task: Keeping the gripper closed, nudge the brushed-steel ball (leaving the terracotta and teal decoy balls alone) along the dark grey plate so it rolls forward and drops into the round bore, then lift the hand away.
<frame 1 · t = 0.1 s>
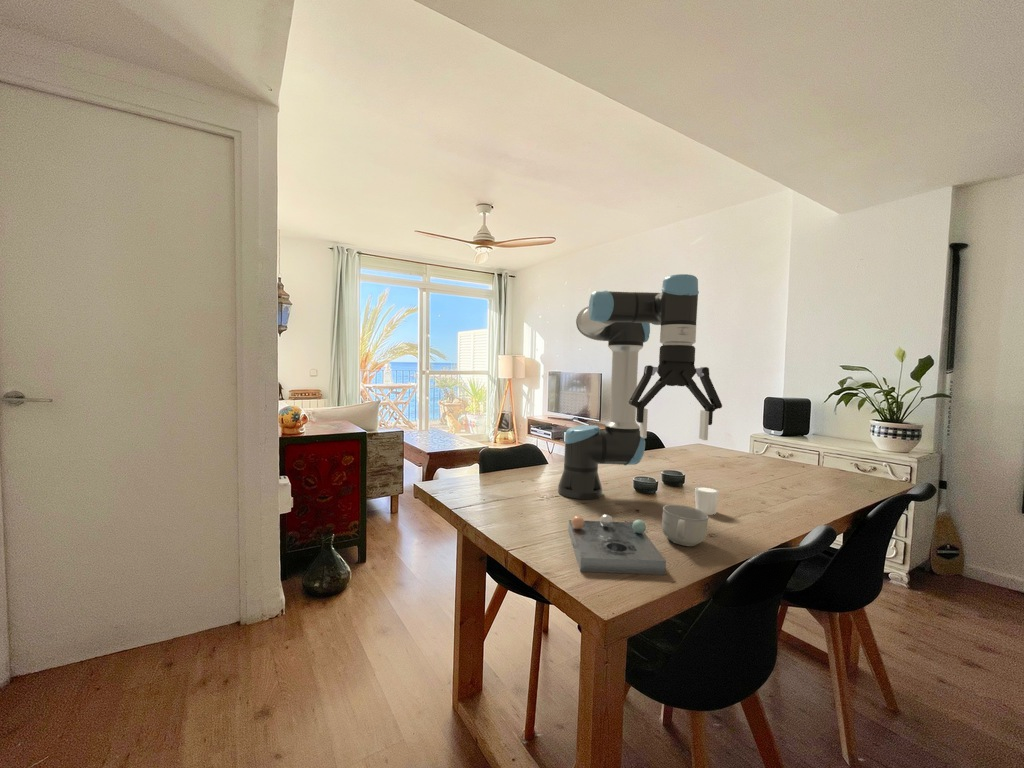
hand: (673, 438, 96), 28 cm above the table, fingers open, 13 cm apart
plate: (611, 550, 100), on the table
teacup: (681, 544, 106), on the table
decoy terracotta: (577, 522, 105), point 5 cm above the table, touching plate
steel ball: (606, 520, 107), point 5 cm above the table, touching plate
shot glass: (705, 512, 130), on the table
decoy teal: (639, 526, 104), point 5 cm above the table, touching plate
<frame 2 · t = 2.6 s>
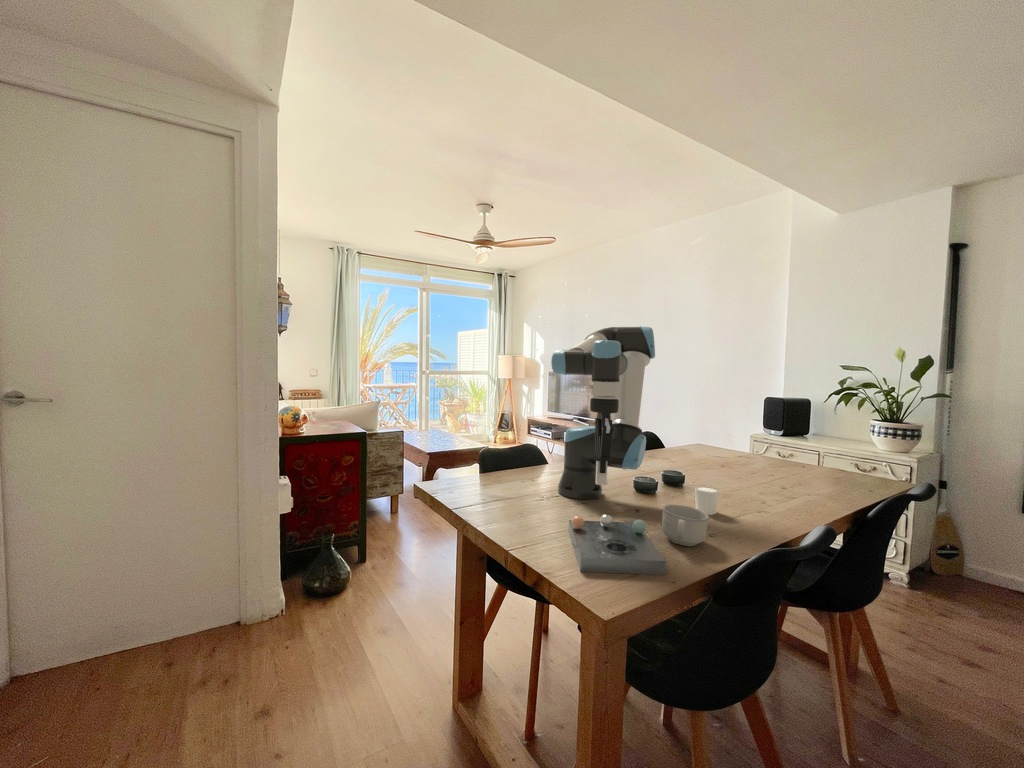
hand: (600, 484, 114), 12 cm above the table, fingers closed
nothing on the table moved.
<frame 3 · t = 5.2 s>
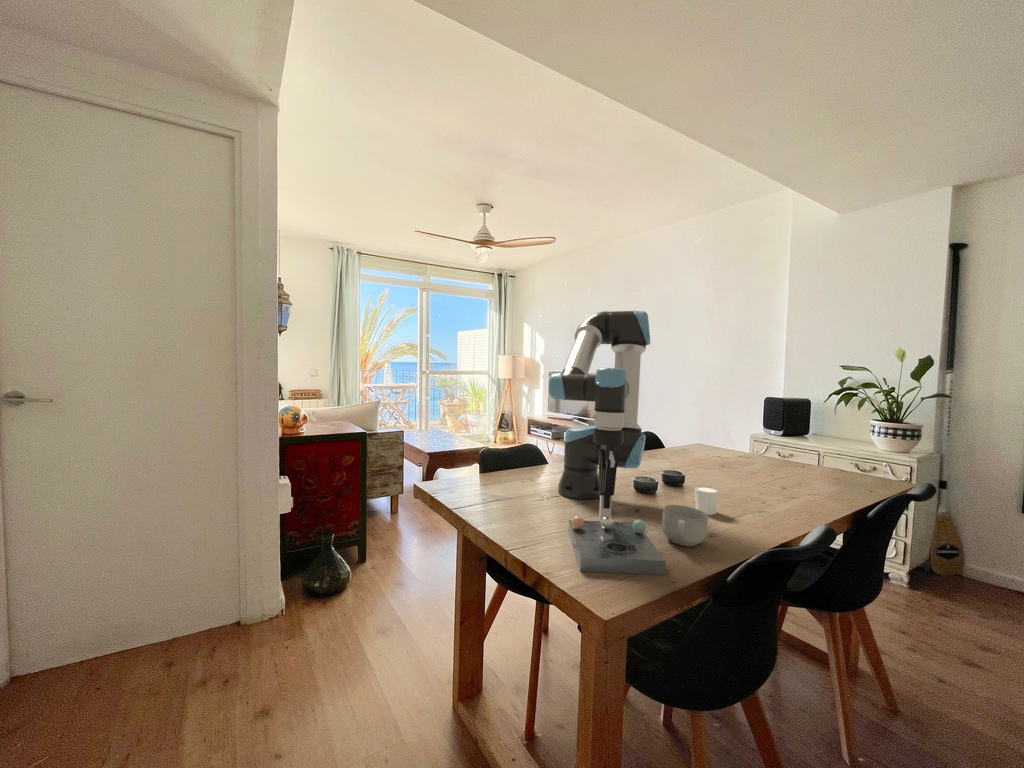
hand: (604, 519, 108), 5 cm above the table, fingers closed
steel ball: (607, 522, 105), point 5 cm above the table, tilted 46°, touching plate
everything else where it was.
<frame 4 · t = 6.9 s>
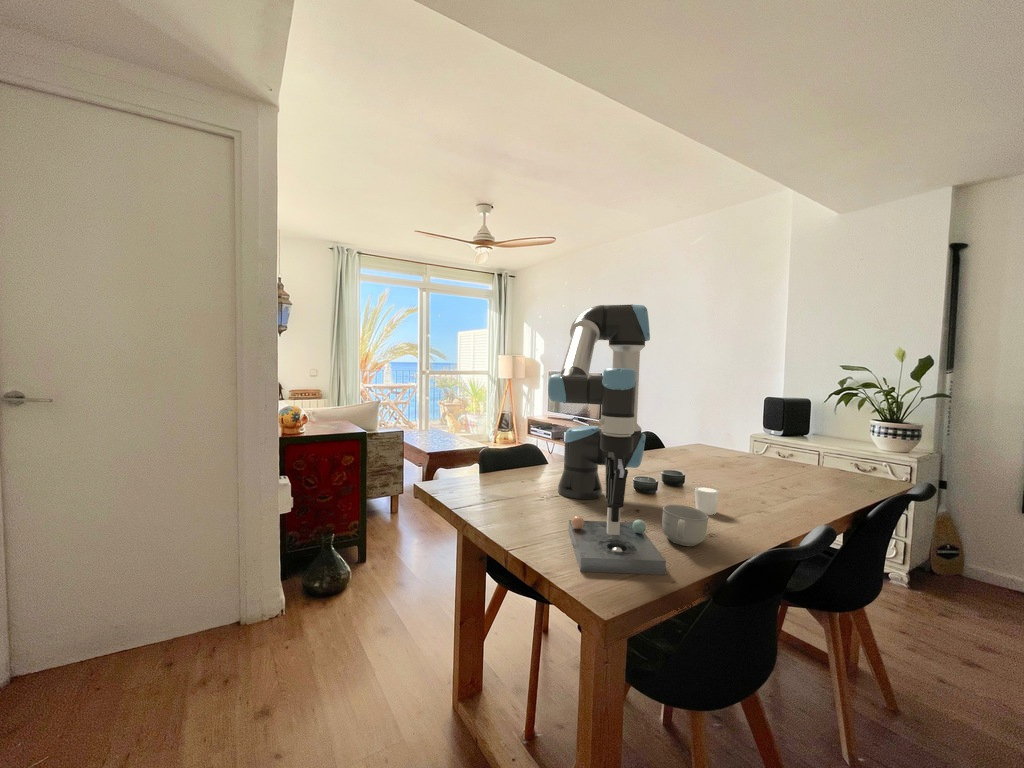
hand: (612, 533, 99), 5 cm above the table, fingers closed
steel ball: (617, 554, 94), point 2 cm above the table, tilted 155°
everything else where it was.
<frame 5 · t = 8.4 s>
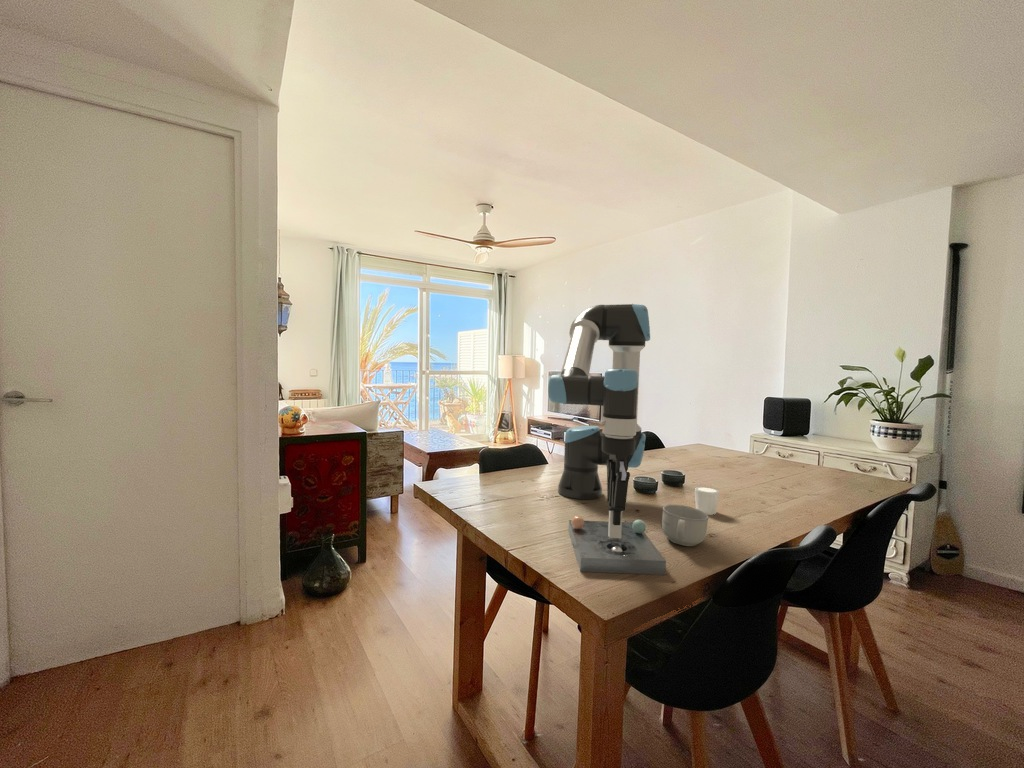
hand: (614, 536, 97), 4 cm above the table, fingers closed
steel ball: (616, 553, 95), point 2 cm above the table, tilted 142°
everything else where it was.
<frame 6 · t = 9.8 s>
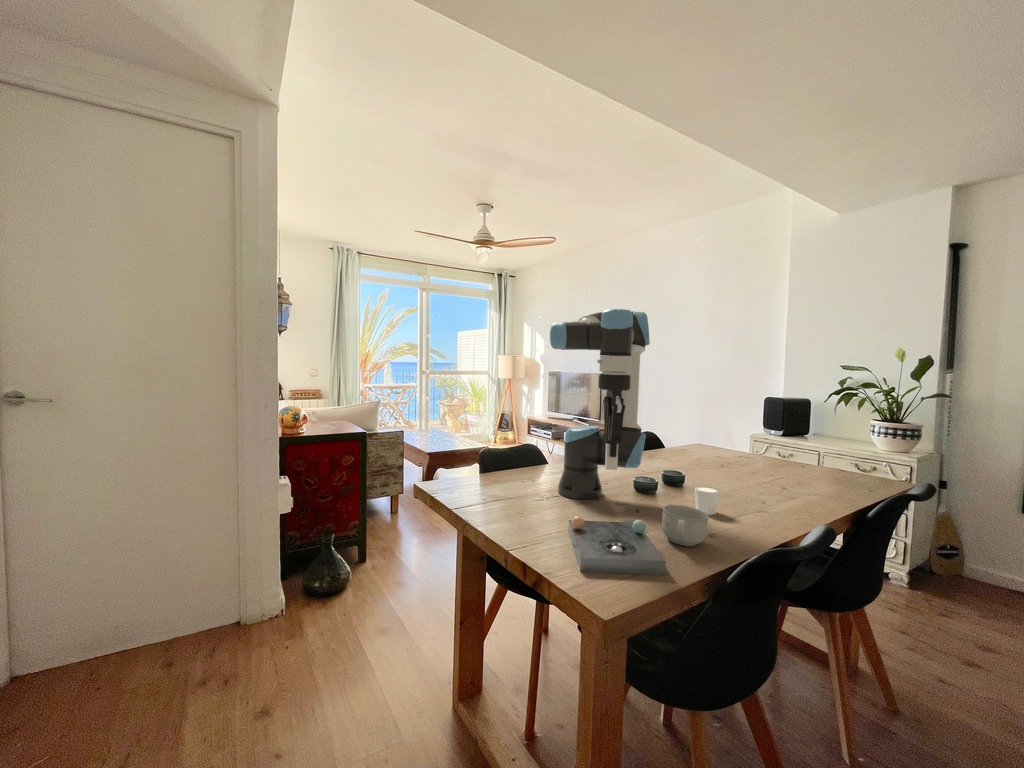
hand: (611, 468, 104), 19 cm above the table, fingers closed
steel ball: (616, 553, 95), point 2 cm above the table, tilted 130°
everything else where it was.
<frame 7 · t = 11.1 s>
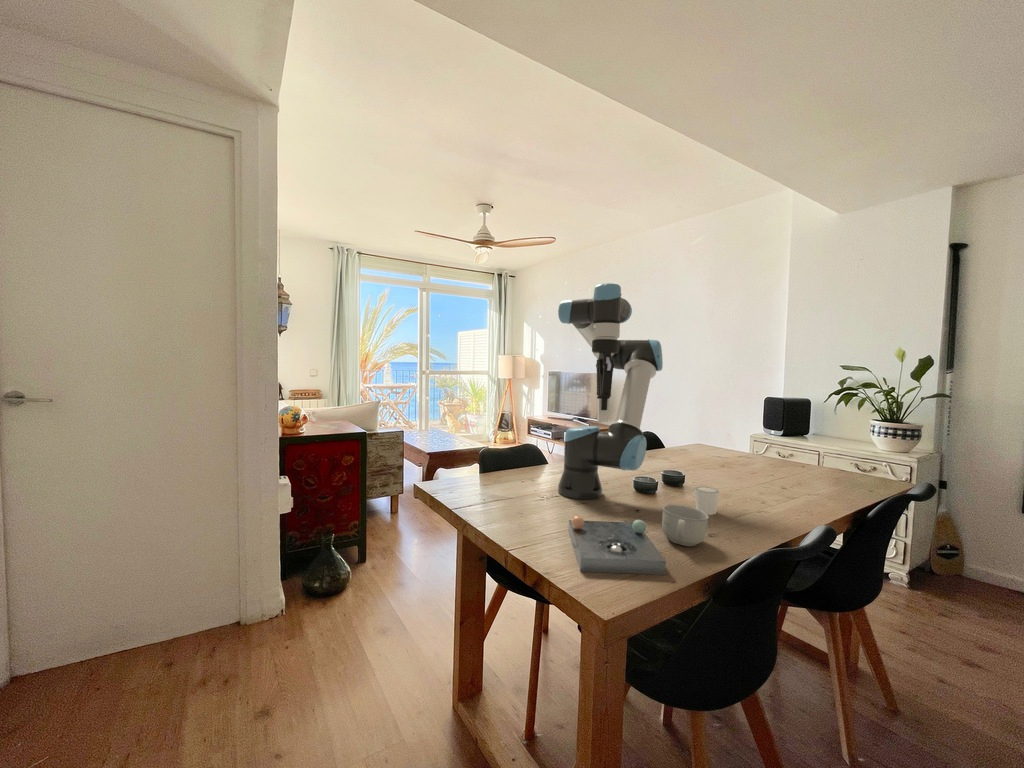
hand: (602, 421, 121), 28 cm above the table, fingers closed
steel ball: (616, 552, 95), point 2 cm above the table, tilted 119°
everything else where it was.
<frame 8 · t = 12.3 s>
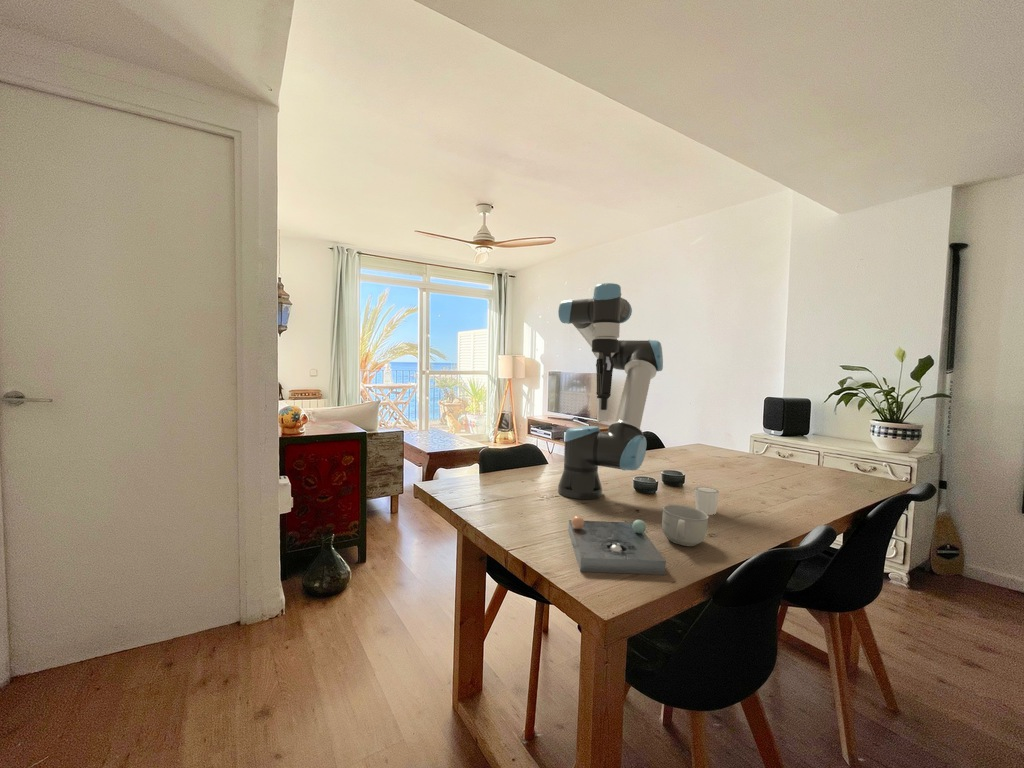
hand: (602, 420, 121), 28 cm above the table, fingers closed
steel ball: (615, 552, 95), point 2 cm above the table, tilted 109°
everything else where it was.
at the end: steel ball 0.6 cm from the target spot in the plate, point 1.6 cm above the plate's base; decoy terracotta moved 0.1 cm from its start; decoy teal moved 0.1 cm from its start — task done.
